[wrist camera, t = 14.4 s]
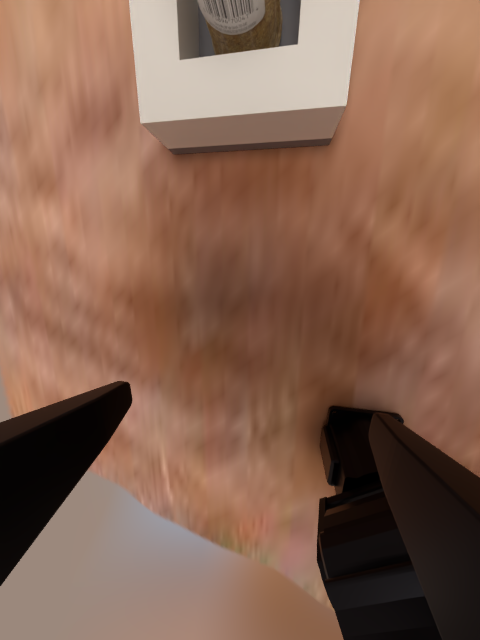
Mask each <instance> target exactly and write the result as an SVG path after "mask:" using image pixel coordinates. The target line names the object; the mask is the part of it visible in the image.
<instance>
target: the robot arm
mask: <svg viewBox="0 0 480 640" xmlns="http://www.w3.org/2000/svg"><path fill="white" fill-rule="evenodd" d="M131 404H132V394H131V388H130V384H129V383H128V382H124V381H117V382H114V383H111V384H108V385H105V386H102V387H100V388H97V389H94V390H91V391H88V392H85V393H83V394H80V395H77V396H74V397H71V398H68V399H66V400H63V401H60V402H57V403H54V404H51V405H49V406H46V407H43V408H40V409H37V410H34V411H32V412H29V413H26V414H23V415H20V416H17V417H15V418H12V419H9V420H6V421H3V422H1V423H0V586H1V585H2V583H3V582H4V581H5V579H6V578H7V577H8V575H9V574H10V573H11V571H12V570H13V569H14V567H15V566H16V565H17V563H18V562H19V561H20V559H21V558H22V556H23V555H24V554H25V553H26V551H27V550H28V549H29V547H30V546H31V545H32V543H33V542H34V540H35V539H36V538H37V537H38V535H39V534H40V533H41V531H42V530H43V529H44V527H45V526H46V525H47V523H48V522H49V520H50V519H51V518H52V517H53V515H54V514H55V512H56V511H57V510H58V508H59V507H60V506H61V505H62V503H63V502H64V501H65V499H66V498H67V497H68V495H69V494H70V493H71V491H72V490H73V488H74V487H75V486H76V484H77V483H78V482H79V480H80V479H81V478H82V476H83V475H84V474H85V472H86V471H87V470H88V468H89V467H90V466H91V464H92V463H93V462H94V460H95V459H96V458H97V456H98V455H99V454H100V452H101V451H102V450H103V448H104V447H105V446H106V444H107V443H108V441H109V440H110V438H111V437H112V435H113V434H114V432H115V430H116V429H117V427H118V426H119V424H120V422H121V421H122V419H123V418H124V416H125V414H126V413H127V411H128V410H129V408H130V406H131ZM334 411H336V413H332V412H334ZM396 419H398V420H396ZM403 423H404V420H403V419H402V417H401V416H400V415H398V414H392V413H384V412H376V411H368V410H360V409H352V408H344V407H336V406H333V407H330V408H329V411H328V417H327V424H326V425H325V426H323V428H322V435H321V442H320V449H321V454H322V459H323V464H324V469H325V474H326V479H327V482H328V484H329V485H331V486H334V487H335V491H336V495H334V496H331V497H328V498H327V497H324V498H321V499H320V502H319V519H318V536H317V563H318V566H319V569H320V573H321V577H322V580H323V583H324V586H325V589H326V592H327V595H328V597H329V600H330V602H331V604H332V606H333V608H334V610H335V613H336V616H337V619H338V622H339V626H340V629H341V632H342V635H343V639H344V640H480V478H479V477H478V476H477V475H475V474H474V473H472V472H471V471H469V470H468V469H466V468H465V467H464V466H462V465H461V464H459V463H458V462H456V461H455V460H453V459H452V458H451V457H449V456H448V455H446V454H445V453H443V452H442V451H441V450H439V449H438V448H436V447H435V446H433V445H432V444H430V443H429V442H428V441H426V440H425V439H423V438H422V437H420V436H419V435H417V434H416V433H415V432H413V431H412V430H410V429H409V428H407V427H406V426H405V425H403Z"/></svg>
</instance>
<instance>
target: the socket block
mask: <svg viewBox="0 0 480 640" xmlns="http://www.w3.org/2000/svg"><path fill="white" fill-rule="evenodd" d="M359 2H360V0H280V6H281V11H282V31H281V39H280V43H279V47H274V48H267V49H259V50H252V51H244V52H237V53H229V54H222V55H215V53H214V49H213V45H212V39H211V36H210V33H209V29H208V27H207V24H206V21H205V18H204V16H203V14H202V12H201V10H200V7H199V4H198V2H197V0H129V6H130V16H131V27H132V38H133V48H134V59H135V70H136V80H137V91H138V102H139V112H140V123H141V124H142V125H143V126H144V127H145V128H146V129H147V130H148V131H149V132H150V133H151V134H152V135H154V136H155V137H156V138H157V139H158V140H159V141H160V142H161V143H162V144H163V145H164V146H165V147H166V148H168V149H169V150H170V151H171V152H172V153H173V154H188V153H205V152H221V151H238V150H255V149H271V148H288V147H305V146H321V145H329V144H330V142H331V139H332V137H333V135H334V133H335V130H336V128H337V126H338V123H339V121H340V119H341V117H342V114H343V112H344V110H345V108H346V105H347V97H348V89H349V81H350V73H351V65H352V57H353V49H354V41H355V33H356V25H357V17H358V10H359Z"/></svg>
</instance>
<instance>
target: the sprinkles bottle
mask: <svg viewBox="0 0 480 640" xmlns="http://www.w3.org/2000/svg"><path fill="white" fill-rule="evenodd" d="M197 2H198V4H199V7H200V10H201V12H202V14H203V16H204V18H205V21H206V24H207V27H208V29H209V33H210V36H211V39H212V45H213V49H214V53H215V55H222V54H229V53H237V52H244V51H252V50H259V49H267V48H274V47H279V43H280V39H281V31H282V11H281V6H280V0H197Z"/></svg>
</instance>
